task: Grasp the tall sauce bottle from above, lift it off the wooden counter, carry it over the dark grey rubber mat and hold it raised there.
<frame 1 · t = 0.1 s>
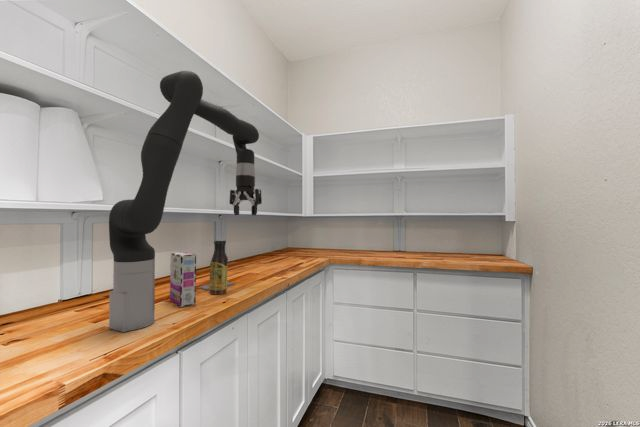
hand: (245, 215, 117), 29 cm above the worktop, tool pointing down, fingers open, 8 cm apart
candy bar box: (182, 303, 95), on the worktop
rubber mat: (216, 286, 117), on the worktop
sauce bottle: (218, 293, 107), on the worktop
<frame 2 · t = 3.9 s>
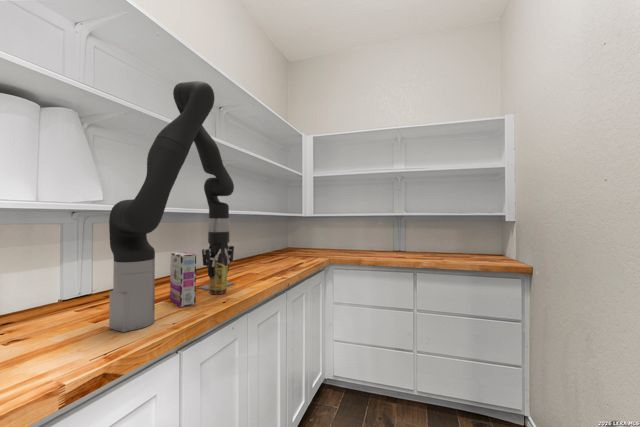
hand: (218, 275, 107), 7 cm above the worktop, tool pointing down, fingers closed on sauce bottle, 6 cm apart
sauce bottle: (218, 293, 107), on the worktop, touching gripper
everything else where it was.
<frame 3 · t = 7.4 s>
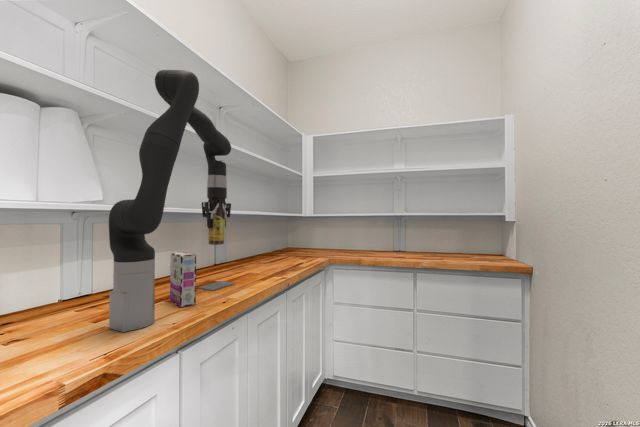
hand: (216, 227, 117), 24 cm above the worktop, tool pointing down, fingers closed on sauce bottle, 6 cm apart
sauce bottle: (216, 244, 117), point 17 cm above the worktop, touching gripper
everything else where it was.
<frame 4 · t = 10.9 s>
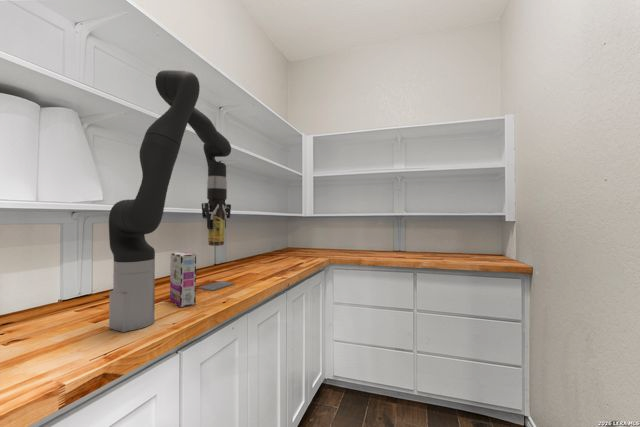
hand: (216, 228, 117), 23 cm above the worktop, tool pointing down, fingers closed on sauce bottle, 6 cm apart
sauce bottle: (216, 245, 117), point 17 cm above the worktop, touching gripper
everything else where it was.
at the end: the gripper is holding sauce bottle; sauce bottle inside the target area (0.1 cm from its centre), point 16.6 cm above the worktop; sauce bottle tilted 0° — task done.
